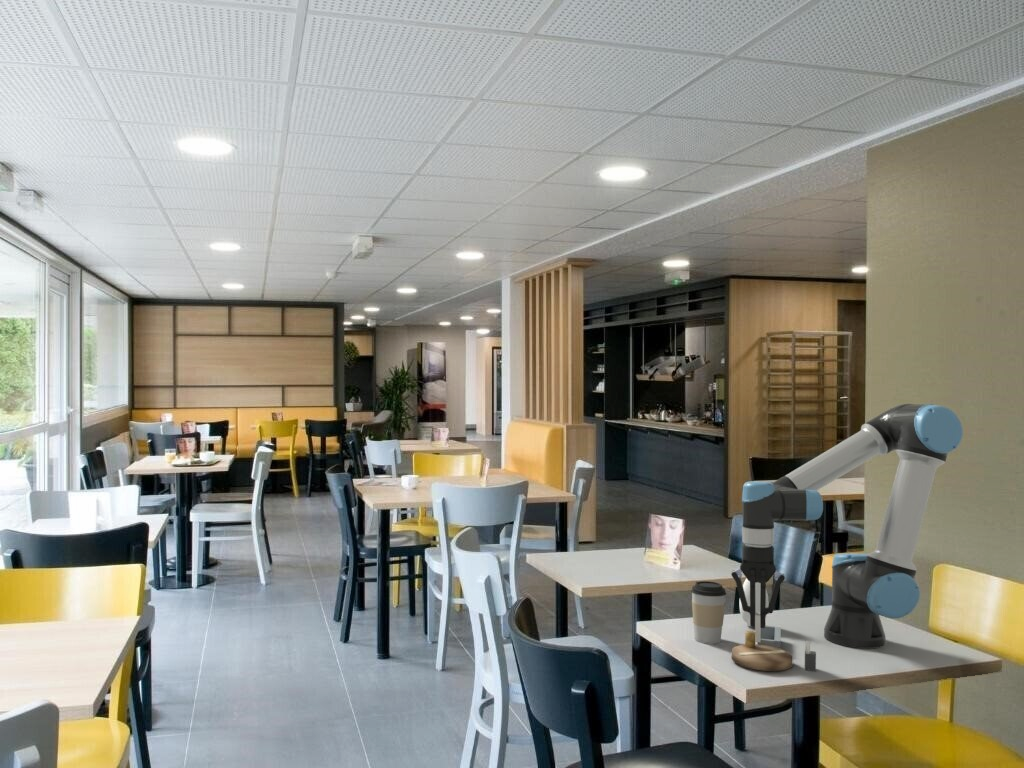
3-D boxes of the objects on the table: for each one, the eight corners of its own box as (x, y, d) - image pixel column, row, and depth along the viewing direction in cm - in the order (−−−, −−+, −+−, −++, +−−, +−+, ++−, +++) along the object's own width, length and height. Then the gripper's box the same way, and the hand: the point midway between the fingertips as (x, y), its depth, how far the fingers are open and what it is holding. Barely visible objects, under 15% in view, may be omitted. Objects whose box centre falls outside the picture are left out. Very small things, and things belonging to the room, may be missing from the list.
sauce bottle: (765, 631, 229) (767, 566, 229) (736, 627, 232) (738, 562, 232) (769, 624, 236) (771, 561, 236) (741, 621, 239) (743, 558, 239)
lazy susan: (772, 650, 210) (772, 629, 210) (804, 669, 197) (804, 646, 197) (721, 653, 207) (721, 631, 207) (750, 672, 193) (750, 648, 193)
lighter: (815, 667, 200) (815, 640, 200) (815, 672, 197) (816, 644, 197) (804, 666, 200) (805, 639, 200) (804, 670, 197) (805, 642, 197)
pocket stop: (780, 640, 222) (780, 626, 222) (780, 656, 208) (780, 642, 208) (758, 637, 223) (759, 624, 223) (757, 653, 210) (757, 639, 210)
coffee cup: (722, 635, 224) (723, 579, 225) (727, 645, 215) (729, 587, 216) (688, 633, 225) (689, 578, 225) (692, 643, 216) (693, 585, 216)
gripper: (785, 543, 208) (785, 639, 208) (732, 540, 212) (731, 634, 212) (785, 548, 201) (785, 647, 201) (730, 545, 205) (730, 642, 204)
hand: (757, 640), depth 206 cm, fingers closed
